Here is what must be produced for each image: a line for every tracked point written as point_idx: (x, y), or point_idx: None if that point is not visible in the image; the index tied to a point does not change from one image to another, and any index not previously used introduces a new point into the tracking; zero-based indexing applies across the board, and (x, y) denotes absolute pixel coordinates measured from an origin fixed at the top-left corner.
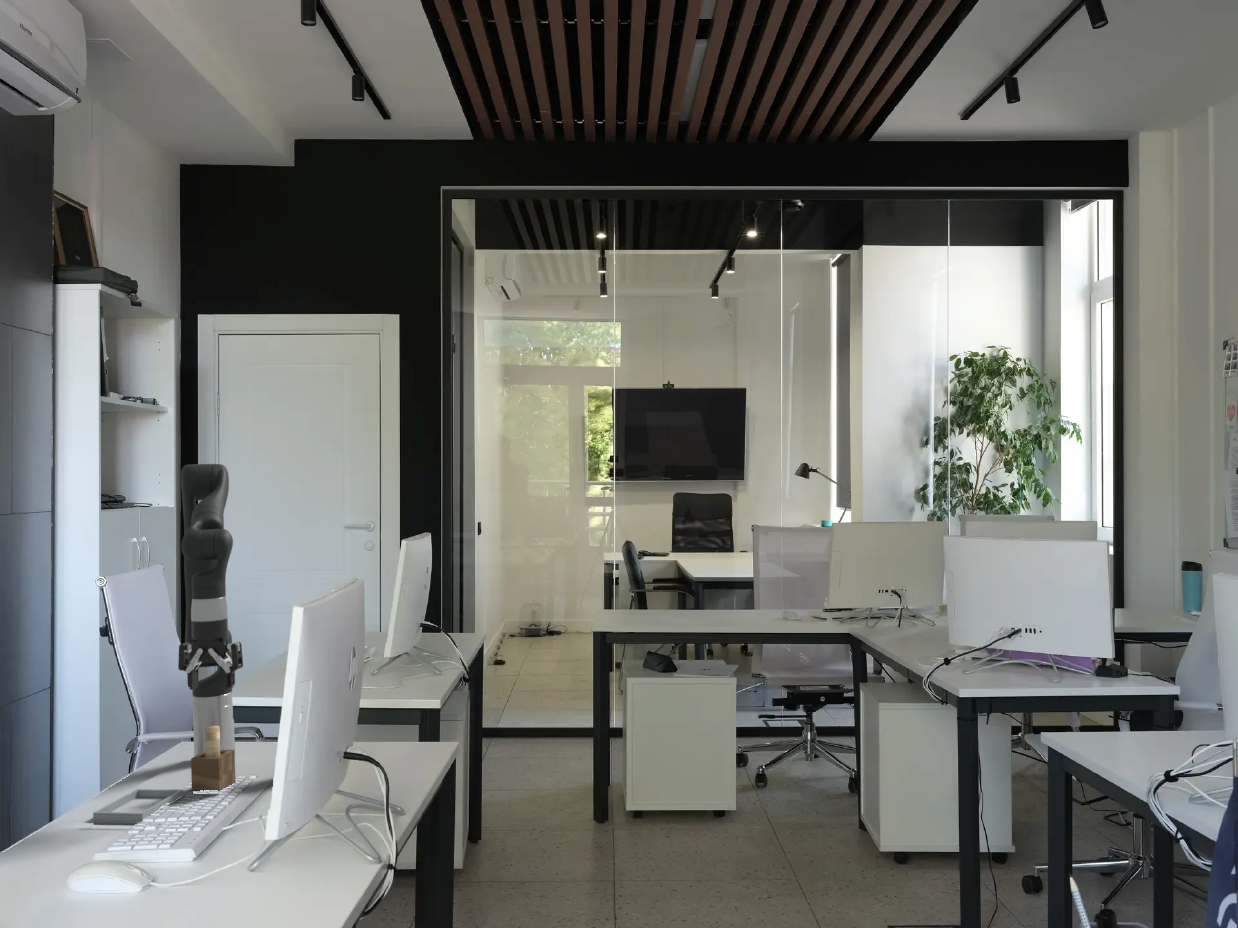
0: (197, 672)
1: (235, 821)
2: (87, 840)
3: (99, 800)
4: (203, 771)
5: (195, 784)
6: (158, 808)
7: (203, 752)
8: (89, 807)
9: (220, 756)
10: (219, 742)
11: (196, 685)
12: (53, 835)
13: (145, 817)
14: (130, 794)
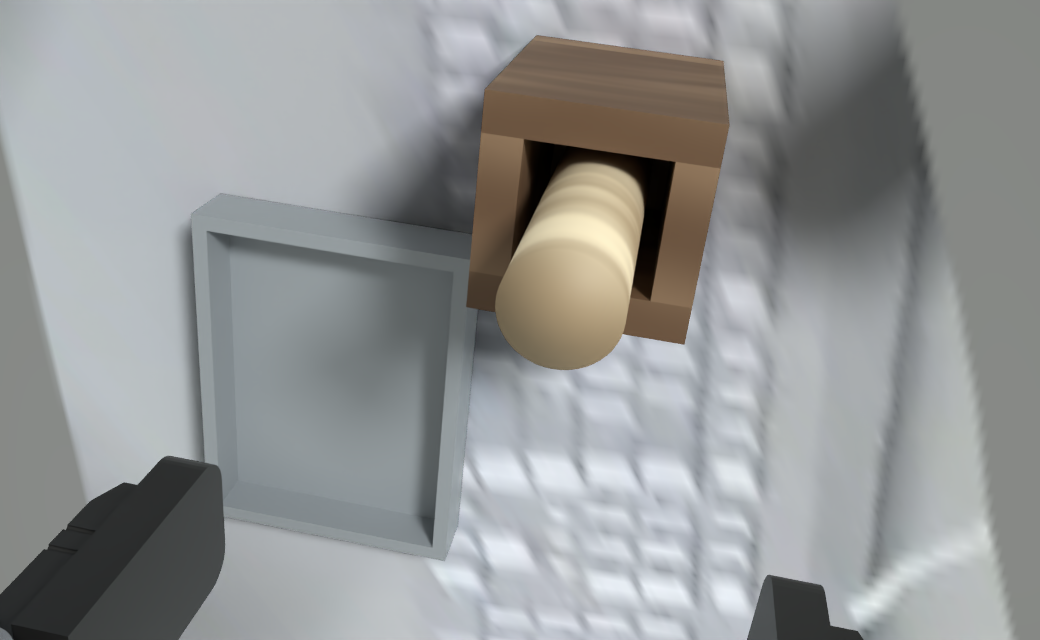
0: (81, 629)
1: (888, 550)
2: (322, 623)
3: (22, 172)
4: None
5: None
6: (459, 448)
7: (489, 168)
8: (50, 268)
9: (675, 289)
10: (636, 257)
11: (200, 509)
12: None
13: (453, 527)
14: (211, 291)
